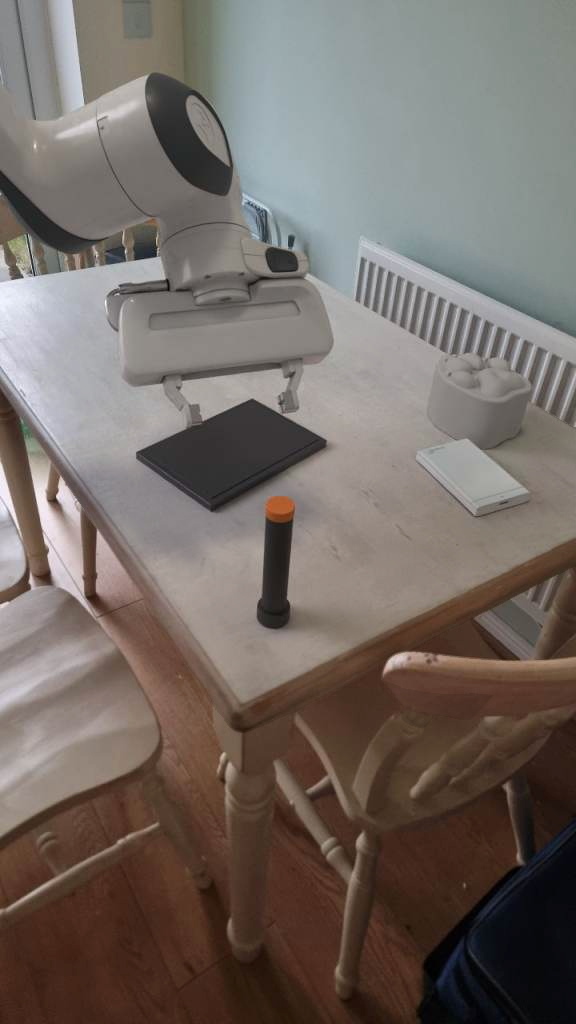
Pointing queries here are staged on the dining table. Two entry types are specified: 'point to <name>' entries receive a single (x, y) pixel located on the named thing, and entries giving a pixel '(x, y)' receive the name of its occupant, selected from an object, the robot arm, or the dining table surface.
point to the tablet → (230, 453)
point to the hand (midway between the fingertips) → (243, 418)
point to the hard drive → (472, 477)
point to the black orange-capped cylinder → (276, 562)
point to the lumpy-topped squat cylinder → (478, 399)
